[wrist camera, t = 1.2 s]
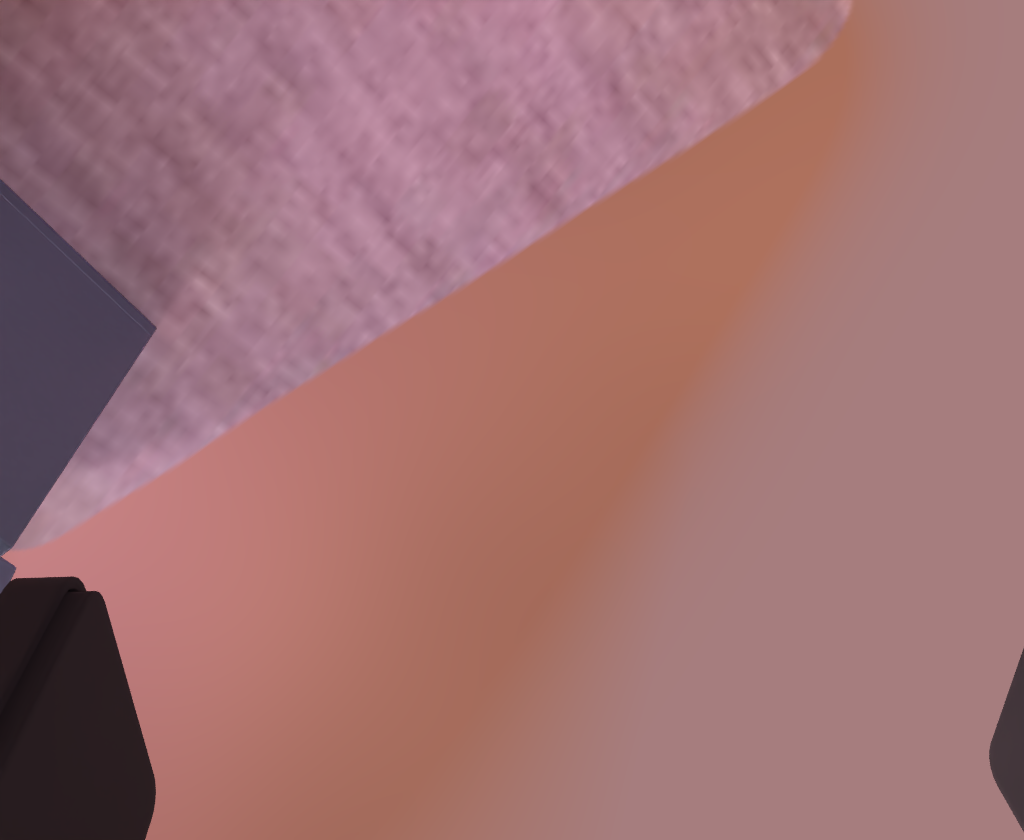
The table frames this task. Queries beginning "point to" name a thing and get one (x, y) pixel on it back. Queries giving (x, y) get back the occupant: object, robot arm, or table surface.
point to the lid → (5, 573)
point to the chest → (52, 357)
